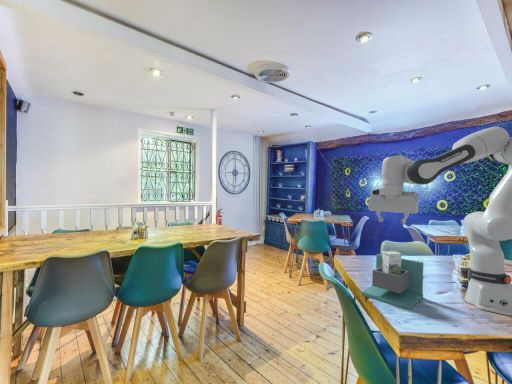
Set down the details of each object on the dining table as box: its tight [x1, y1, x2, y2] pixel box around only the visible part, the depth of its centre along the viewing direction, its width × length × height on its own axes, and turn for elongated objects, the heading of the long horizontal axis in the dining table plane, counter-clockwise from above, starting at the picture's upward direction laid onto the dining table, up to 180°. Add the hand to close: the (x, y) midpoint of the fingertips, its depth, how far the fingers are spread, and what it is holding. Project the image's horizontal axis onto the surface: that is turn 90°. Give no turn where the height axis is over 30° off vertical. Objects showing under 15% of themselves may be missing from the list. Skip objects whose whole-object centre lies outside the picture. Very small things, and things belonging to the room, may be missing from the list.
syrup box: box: [381, 250, 402, 276], centre depth 119 cm, size 6×6×14 cm
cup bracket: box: [361, 253, 424, 311], centre depth 120 cm, size 20×18×16 cm
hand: (391, 222), depth 119 cm, fingers open, 8 cm apart
